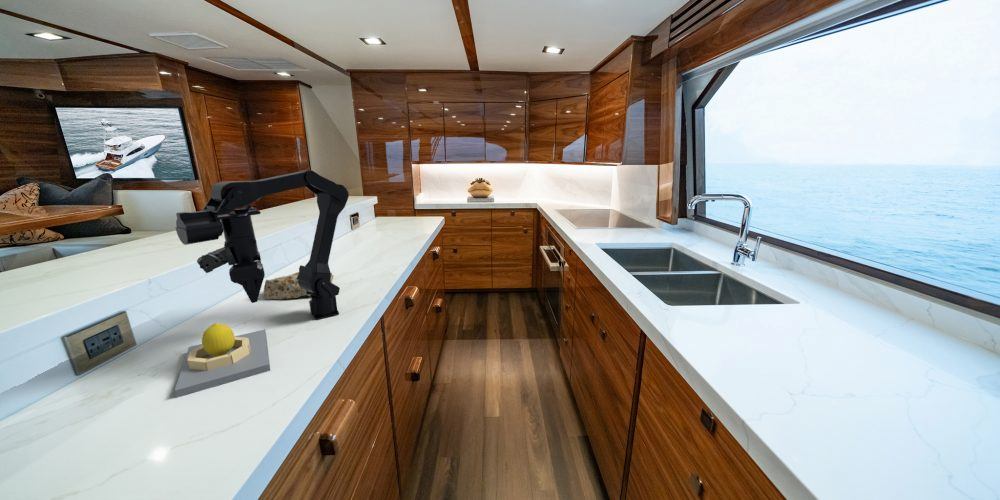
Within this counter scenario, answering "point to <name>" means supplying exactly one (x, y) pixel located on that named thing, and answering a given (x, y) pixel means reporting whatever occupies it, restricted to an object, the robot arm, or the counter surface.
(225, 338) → the lemon
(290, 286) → the rock
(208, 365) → the plate
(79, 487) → the counter surface
